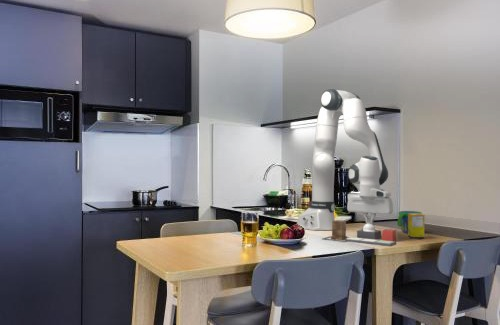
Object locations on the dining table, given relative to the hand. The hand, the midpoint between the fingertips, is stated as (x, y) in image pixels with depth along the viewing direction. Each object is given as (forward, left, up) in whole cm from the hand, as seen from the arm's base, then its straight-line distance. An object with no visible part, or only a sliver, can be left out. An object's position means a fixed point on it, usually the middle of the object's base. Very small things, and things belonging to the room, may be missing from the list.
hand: (369, 223), depth 203 cm
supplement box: (+16, +16, -7) cm, 24 cm away
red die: (+9, 0, -7) cm, 11 cm away
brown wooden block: (-10, -10, -7) cm, 16 cm away
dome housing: (0, 0, -7) cm, 7 cm away
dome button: (0, 0, -6) cm, 6 cm away
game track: (+4, -10, -7) cm, 13 cm away
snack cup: (+9, +31, -7) cm, 33 cm away
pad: (-10, -10, -7) cm, 16 cm away
